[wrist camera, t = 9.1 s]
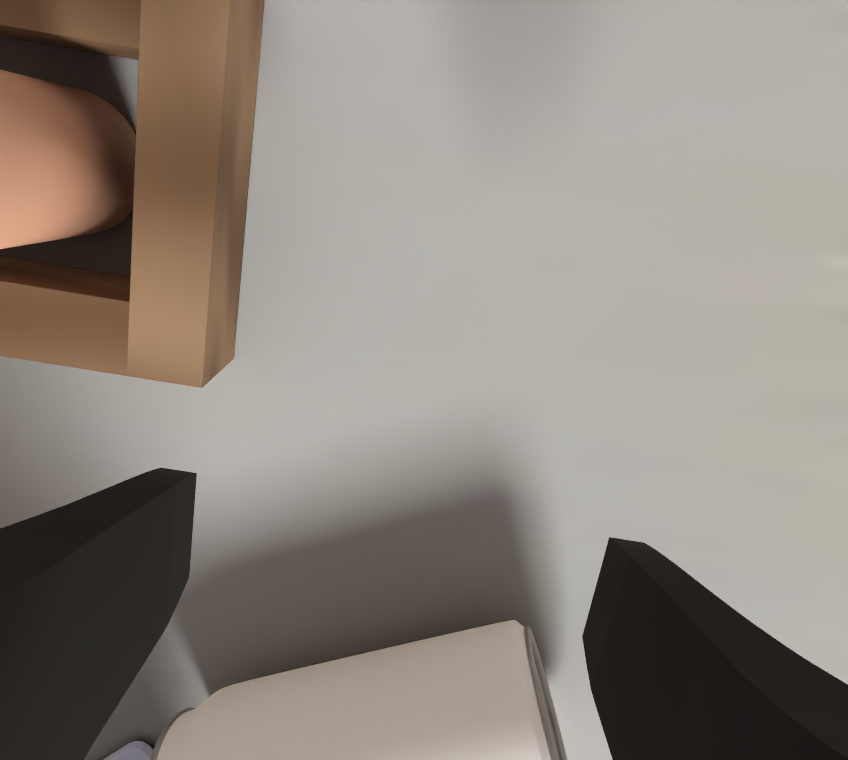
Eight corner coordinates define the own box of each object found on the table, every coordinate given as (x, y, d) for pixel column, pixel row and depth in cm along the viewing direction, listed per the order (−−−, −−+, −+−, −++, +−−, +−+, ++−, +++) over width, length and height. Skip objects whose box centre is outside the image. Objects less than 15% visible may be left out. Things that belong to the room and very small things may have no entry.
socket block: (233, 358, 21) (201, 387, 18) (-95, 305, 21) (-179, 326, 18) (264, 0, 18) (232, -32, 15) (-117, -68, 18) (-222, -114, 15)
